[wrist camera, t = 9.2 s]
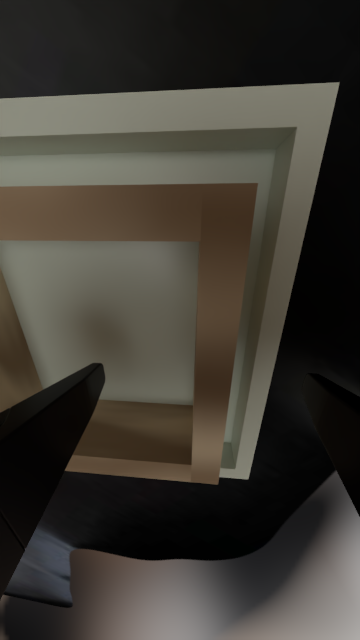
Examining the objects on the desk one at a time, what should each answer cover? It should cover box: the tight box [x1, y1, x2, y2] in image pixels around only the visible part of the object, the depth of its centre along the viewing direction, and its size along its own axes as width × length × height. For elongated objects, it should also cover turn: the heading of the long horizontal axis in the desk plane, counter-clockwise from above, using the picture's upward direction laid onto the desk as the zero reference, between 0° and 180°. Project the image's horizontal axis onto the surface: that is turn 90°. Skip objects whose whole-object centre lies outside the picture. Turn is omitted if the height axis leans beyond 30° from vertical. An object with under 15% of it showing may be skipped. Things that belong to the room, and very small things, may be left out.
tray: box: [0, 82, 340, 479], centre depth 12 cm, size 20×20×2 cm
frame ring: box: [0, 183, 258, 484], centre depth 11 cm, size 14×14×4 cm
